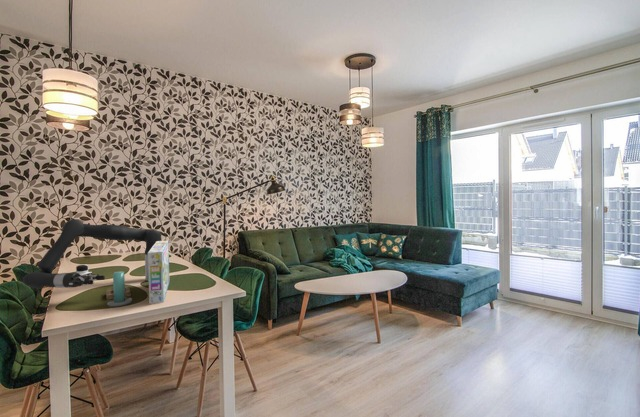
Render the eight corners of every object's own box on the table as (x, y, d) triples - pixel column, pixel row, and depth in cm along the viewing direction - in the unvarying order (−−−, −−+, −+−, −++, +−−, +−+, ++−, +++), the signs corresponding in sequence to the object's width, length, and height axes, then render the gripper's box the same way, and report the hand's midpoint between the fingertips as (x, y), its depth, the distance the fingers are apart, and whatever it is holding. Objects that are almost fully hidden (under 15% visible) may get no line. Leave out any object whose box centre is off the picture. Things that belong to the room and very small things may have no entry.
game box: (157, 283, 201) (156, 241, 200) (169, 282, 204) (168, 240, 202) (148, 304, 163) (147, 251, 162) (163, 302, 166) (162, 251, 165)
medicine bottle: (82, 286, 196) (81, 266, 196) (72, 285, 198) (72, 266, 197) (92, 282, 203) (92, 264, 203) (83, 282, 205) (82, 263, 204)
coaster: (131, 298, 173) (131, 296, 173) (133, 303, 164) (133, 301, 164) (106, 302, 167) (106, 300, 167) (107, 308, 158) (107, 306, 158)
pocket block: (128, 291, 185) (128, 287, 185) (130, 296, 176) (130, 291, 176) (106, 294, 179) (106, 290, 179) (106, 300, 170) (106, 295, 170)
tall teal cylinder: (124, 298, 169) (124, 270, 168) (125, 301, 165) (124, 272, 164) (113, 300, 166) (112, 272, 165) (114, 303, 162) (113, 274, 161)
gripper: (55, 276, 158) (88, 276, 158) (77, 269, 173) (107, 269, 173) (56, 291, 159) (89, 291, 159) (78, 283, 173) (108, 282, 173)
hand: (98, 279), depth 166 cm, fingers open, 8 cm apart
